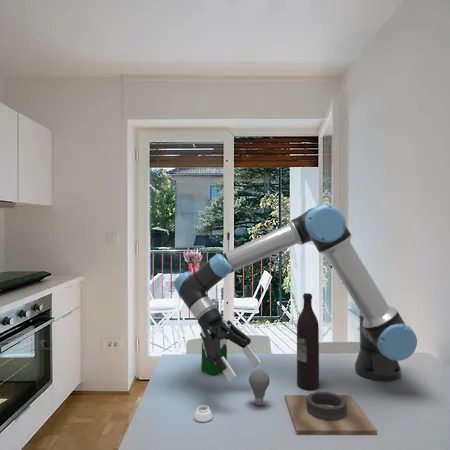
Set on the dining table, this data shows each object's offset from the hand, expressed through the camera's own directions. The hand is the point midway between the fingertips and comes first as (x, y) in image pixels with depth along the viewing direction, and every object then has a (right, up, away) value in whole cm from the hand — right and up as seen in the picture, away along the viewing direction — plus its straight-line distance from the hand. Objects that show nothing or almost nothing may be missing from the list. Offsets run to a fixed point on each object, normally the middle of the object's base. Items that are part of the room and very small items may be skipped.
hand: (246, 371), depth 111 cm
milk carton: (-10, -9, +24) cm, 28 cm away
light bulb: (+4, -9, -2) cm, 10 cm away
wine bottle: (+21, -9, +11) cm, 25 cm away
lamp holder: (+22, -9, -8) cm, 25 cm away
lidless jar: (-12, -9, -10) cm, 18 cm away
